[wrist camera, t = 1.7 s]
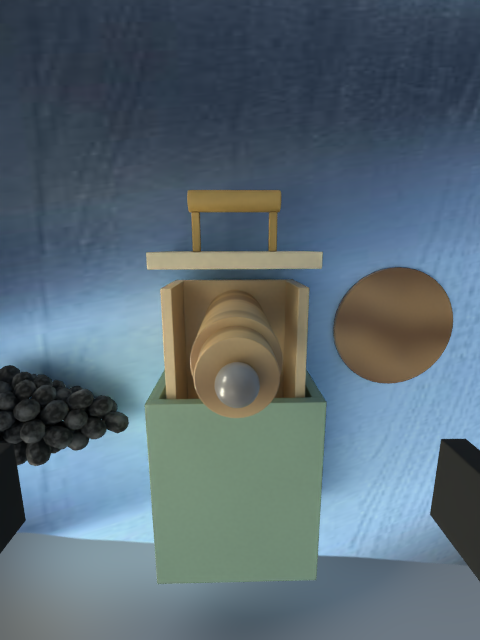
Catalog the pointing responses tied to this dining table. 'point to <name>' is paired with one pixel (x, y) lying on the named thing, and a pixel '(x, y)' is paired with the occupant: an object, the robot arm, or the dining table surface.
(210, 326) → the pepper mill
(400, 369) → the cork coaster
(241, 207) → the drawer
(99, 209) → the dining table surface
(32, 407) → the fruit
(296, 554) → the cabinet
